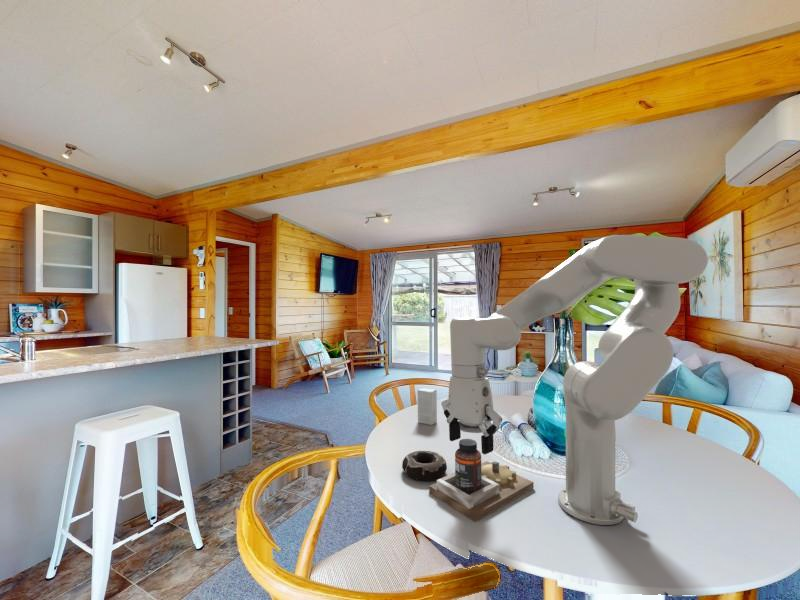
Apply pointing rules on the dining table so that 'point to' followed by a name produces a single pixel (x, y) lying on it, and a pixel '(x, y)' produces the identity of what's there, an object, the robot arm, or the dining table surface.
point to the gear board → (483, 491)
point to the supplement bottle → (468, 467)
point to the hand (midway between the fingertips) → (470, 445)
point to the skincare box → (427, 406)
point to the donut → (424, 465)
